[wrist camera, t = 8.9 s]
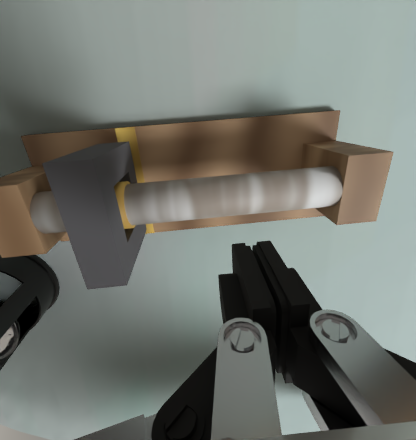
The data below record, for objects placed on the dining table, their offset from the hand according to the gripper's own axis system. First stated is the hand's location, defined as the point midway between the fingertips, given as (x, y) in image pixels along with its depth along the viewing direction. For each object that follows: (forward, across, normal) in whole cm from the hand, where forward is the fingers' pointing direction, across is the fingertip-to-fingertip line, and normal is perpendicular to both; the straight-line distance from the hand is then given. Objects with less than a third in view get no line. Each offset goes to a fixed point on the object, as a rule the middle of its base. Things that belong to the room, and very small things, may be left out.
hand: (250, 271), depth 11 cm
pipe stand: (+14, +3, -1) cm, 14 cm away
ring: (+12, +9, -1) cm, 15 cm away
